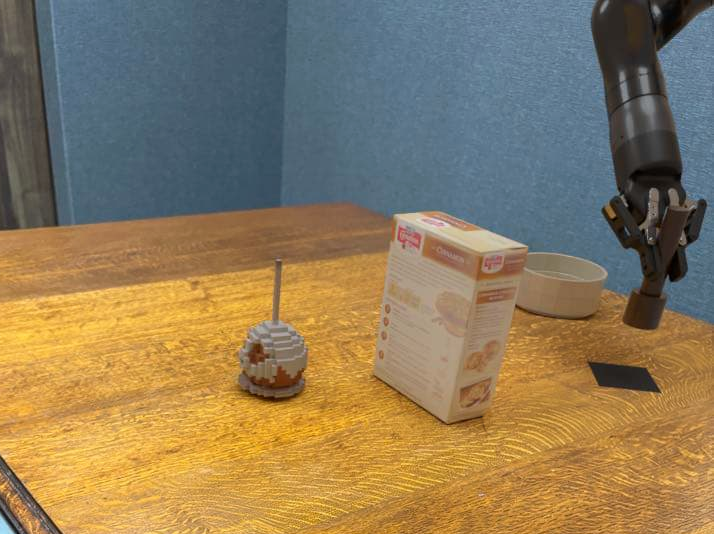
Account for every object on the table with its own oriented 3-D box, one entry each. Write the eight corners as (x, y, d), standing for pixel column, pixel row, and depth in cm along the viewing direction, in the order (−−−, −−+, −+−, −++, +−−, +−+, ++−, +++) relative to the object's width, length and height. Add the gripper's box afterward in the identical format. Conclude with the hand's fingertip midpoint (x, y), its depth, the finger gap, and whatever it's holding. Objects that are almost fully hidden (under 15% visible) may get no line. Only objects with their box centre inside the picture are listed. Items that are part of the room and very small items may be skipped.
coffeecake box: (492, 414, 96) (532, 245, 84) (446, 426, 92) (481, 251, 81) (414, 365, 106) (440, 208, 94) (369, 374, 102) (391, 212, 91)
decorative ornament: (229, 376, 98) (232, 251, 90) (288, 370, 101) (297, 247, 93) (252, 405, 93) (258, 273, 84) (314, 397, 96) (326, 269, 87)
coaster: (645, 370, 110) (646, 367, 110) (660, 396, 104) (661, 392, 104) (586, 364, 111) (587, 361, 110) (598, 389, 104) (599, 385, 104)
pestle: (652, 319, 105) (691, 205, 96) (661, 332, 101) (703, 214, 93) (618, 315, 105) (654, 201, 97) (626, 328, 101) (664, 210, 93)
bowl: (587, 294, 136) (597, 257, 132) (605, 324, 124) (616, 285, 121) (502, 284, 136) (510, 248, 133) (512, 314, 125) (521, 275, 121)
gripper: (611, 124, 95) (634, 263, 92) (713, 130, 98) (738, 264, 95) (576, 163, 102) (597, 293, 100) (673, 167, 105) (695, 293, 103)
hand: (666, 278), depth 98 cm, fingers closed on pestle, 2 cm apart
